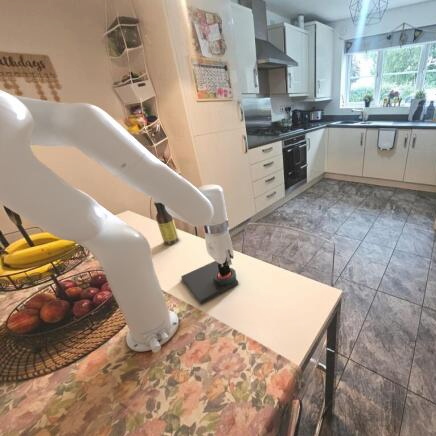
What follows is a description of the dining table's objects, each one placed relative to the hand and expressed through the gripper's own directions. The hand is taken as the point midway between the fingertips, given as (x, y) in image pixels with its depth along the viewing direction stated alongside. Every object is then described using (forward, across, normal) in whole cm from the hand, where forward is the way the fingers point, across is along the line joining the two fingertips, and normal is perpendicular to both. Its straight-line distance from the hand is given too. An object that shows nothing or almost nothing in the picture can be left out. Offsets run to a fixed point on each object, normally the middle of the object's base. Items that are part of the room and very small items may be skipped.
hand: (225, 273), depth 82 cm
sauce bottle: (+4, -42, -4) cm, 42 cm away
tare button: (+2, 0, 0) cm, 2 cm away
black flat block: (+4, -4, -4) cm, 7 cm away
